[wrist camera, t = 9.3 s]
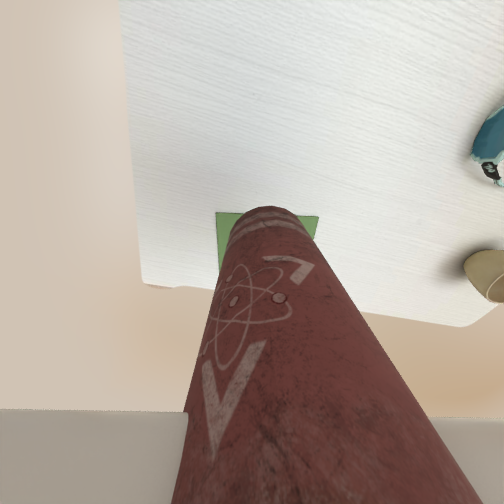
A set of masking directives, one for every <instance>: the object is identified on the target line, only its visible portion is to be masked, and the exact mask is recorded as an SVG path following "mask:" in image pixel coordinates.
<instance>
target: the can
mask: <svg viewBox="0 0 504 504" xmlns="http://www.w3.org/2000/svg"><path fill="white" fill-rule="evenodd" d="M183 412H187V413H188V425H187V431H186V436H185V441H184V447H183V452H182V458H181V462H180V467H179V471H178V475H177V479H176V484H175V488H174V492H173V497H172V501H171V504H483V502H482V501H481V499H480V498H479V496H478V494H477V493H476V491H475V490H474V488H473V487H472V485H471V484H470V482H469V481H468V479H467V477H466V476H465V474H464V473H463V471H462V470H461V468H460V467H459V465H458V464H457V462H456V460H455V459H454V457H453V456H452V454H451V453H450V451H449V450H448V448H447V447H446V445H445V443H444V442H443V440H442V439H441V437H440V436H439V434H438V433H437V431H436V430H435V428H434V426H433V425H432V423H431V422H430V420H429V419H428V417H427V416H426V414H425V413H424V411H423V409H422V408H421V406H420V405H419V403H418V402H417V400H416V399H415V397H414V396H413V394H412V392H411V391H410V389H409V388H408V386H407V385H406V383H405V382H404V380H403V379H402V377H401V375H400V374H399V372H398V371H397V369H396V368H395V366H394V365H393V363H392V361H391V360H390V358H389V357H388V355H387V354H386V352H385V351H384V349H383V348H382V346H381V345H380V343H379V341H378V340H377V338H376V337H375V335H374V334H373V332H372V331H371V329H370V327H369V326H368V324H367V323H366V321H365V320H364V318H363V317H362V315H361V314H360V312H359V310H358V309H357V307H356V306H355V304H354V303H353V301H352V300H351V298H350V297H349V295H348V293H347V292H346V290H345V289H344V287H343V286H342V284H341V283H340V281H339V280H338V278H337V276H336V275H335V273H334V272H333V270H332V269H331V267H330V266H329V264H328V263H327V261H326V259H325V258H324V256H323V255H322V253H321V252H320V250H319V249H318V247H317V246H316V244H315V242H314V241H313V239H312V238H311V236H310V235H309V233H308V232H307V230H306V229H305V227H304V225H303V224H302V223H301V221H300V220H299V219H298V218H297V216H296V215H294V214H293V213H291V212H290V211H288V210H286V209H284V208H280V207H275V206H264V207H257V208H255V209H252V210H250V211H248V212H246V213H245V214H243V215H242V216H241V217H240V218H239V219H238V220H236V222H235V224H234V226H233V227H232V229H231V231H230V235H229V238H228V242H227V246H226V250H225V254H224V258H223V261H222V265H221V269H220V273H219V277H218V281H217V284H216V288H215V292H214V296H213V300H212V304H211V307H210V311H209V315H208V319H207V323H206V327H205V331H204V334H203V338H202V342H201V346H200V350H199V353H198V357H197V361H196V365H195V369H194V373H193V376H192V380H191V384H190V388H189V392H188V396H187V400H186V403H185V407H184V411H183Z"/></svg>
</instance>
